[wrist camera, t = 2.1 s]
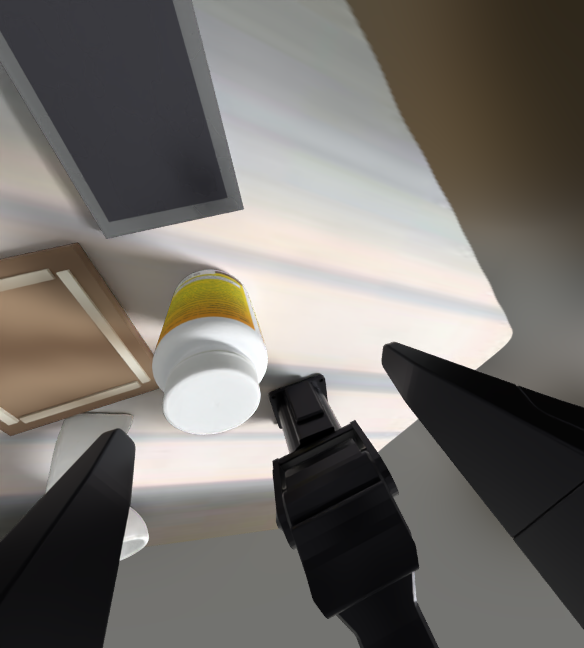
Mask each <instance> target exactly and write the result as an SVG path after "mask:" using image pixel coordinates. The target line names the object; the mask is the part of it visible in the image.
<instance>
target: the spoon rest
mask: <svg viewBox="0 0 584 648" xmlns="http://www.w3.org/2000/svg"><path fill="white" fill-rule="evenodd" d="M132 421H133V416H132V415H128V414H90V413H89V414H78V415H75V416H71V417H68V418H65V420H64V423H63V425H62V428H61V430H60V433H59V436H58V439H57V441H56V445H55V449H54V453H53V457H52V462H51V467H50V472H49V477H48V482H47V487H46V493H47V491H48V490H49V489H50V488H51V487H52V486H53V485H54V484H55V483H56V482H57V481H58V480H59V479H60V478H61V477H62V476H63V474H64V473H65V472H66V471H67V470H68V469H69V468H70V467H71V466H72V465H73V464H74V463H75V462H76V461H77V460H78V459H79V457H80V456H81V455H82V454H83V453H84V452H85V451H86V450H87V449H88V448H89V447H90V446H91V445H92V444H93V443H94V442H95V440H96V439H97V438H98V437H99V436H100V435H101V434H102V433H104V432H106V431H110V430H113V429H116V428H120V429H122V430H123V431H124V432H125V433H126V434H127V433H128V431H129V429H130V426H131V424H132ZM46 493H45V494H46ZM148 540H149V534H148V530H147V527H146V524H145V522H144V520H143V519H142V517H141V516H140V515H139V514H138V513H137V512H136V511H135V510H134V509H132V508H131V507H130V509H129V514H128V520H127V525H126V530H125V535H124V540H123V546H122V551H121V556H120V560H122V559H125V558H127V557H129V556H131V555H133V554H135V553H136V552H138V551H139V550H141V549H142V548H143V547H144V546H145V545H146V544H147V542H148Z"/></svg>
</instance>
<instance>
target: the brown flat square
mask: <svg viewBox="0 0 584 648" xmlns="http://www.w3.org/2000/svg"><path fill="white" fill-rule="evenodd" d="M153 357H154V355H153V353H152V352H151V350H150V349H149V347H148V346H147V344H146V343H145V341H144V340H143V338H142V337H141V335H140V334H139V332H138V331H137V329H136V328H135V326H134V325H133V323H132V322H131V320H130V319H129V317H128V316H127V315H126V313H125V312H124V310H123V309H122V307H121V306H120V304H119V303H118V301H117V300H116V298H115V297H114V295H113V294H112V292H111V291H110V289H109V288H108V286H107V285H106V283H105V282H104V280H103V279H102V277H101V276H100V274H99V273H98V271H97V270H96V268H95V267H94V265H93V264H92V262H91V261H90V259H89V258H88V256H87V255H86V253H85V252H84V251H83V249H82V248H81V246H80V245H79V243H74V244H69V245H64V246H59V247H55V248H50V249H45V250H41V251H36V252H31V253H27V254H22V255H17V256H13V257H8V258H3V259H0V430H2V431H3V432H5V433H7V434H8V435H10V436H12V435H15V434H18V433H22V432H25V431H28V430H31V429H34V428H37V427H40V426H43V425H46V424H50V423H53V422H56V421H59V420H62V419H65V418H68V417H71V416H75V415H78V414H81V413H84V412H87V411H90V410H93V409H96V408H100V407H103V406H106V405H109V404H112V403H115V402H118V401H121V400H124V399H128V398H131V397H134V396H137V395H140V394H143V393H146V392H149V391H153V390H156V389H159V386H158V385H157V383H156V381H155V379H154V376H153V370H152V362H153Z"/></svg>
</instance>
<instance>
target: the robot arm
mask: <svg viewBox="0 0 584 648" xmlns="http://www.w3.org/2000/svg"><path fill="white" fill-rule="evenodd" d="M382 366H383V368H384V369H385V371H386V372H387V374H388V376H389V377H390V379H391V380H392V382H393V383H394V385H395V387H396V388H397V390H398V391H399V393H400V395H401V396H402V398H403V399H404V401H405V402H406V403H407V405H408V406H409V407H410V409H411V410H412V411H413V412H414V414H415V415H416V416H417V418H418V419H419V420H420V421H421V423H422V424H423V425H424V426H425V428H426V429H427V430H428V431H429V433H430V434H431V435H432V437H433V438H434V439H435V440H436V442H437V443H438V444H439V445H440V447H441V448H442V449H443V451H444V452H445V453H446V454H447V456H448V457H449V458H450V460H451V461H452V462H453V463H454V465H455V466H456V467H457V468H458V470H459V471H460V472H461V474H462V475H463V476H464V477H465V479H466V480H467V481H468V482H469V483H470V485H471V486H472V487H473V489H474V490H475V491H476V493H477V494H478V495H479V496H480V498H481V499H482V500H483V502H484V503H485V504H486V505H487V507H488V508H489V509H490V511H491V512H492V513H493V514H494V516H495V517H496V518H497V519H498V521H499V522H500V523H501V525H502V526H503V527H504V528H505V530H506V531H507V532H508V533H509V535H510V536H511V537H512V538H513V540H514V541H515V543H516V544H517V545H518V546H519V548H520V549H521V550H522V551H523V553H524V554H525V555H526V557H527V558H528V559H529V560H530V562H531V563H532V564H533V566H534V567H535V568H536V569H537V570H538V572H539V573H540V574H541V576H542V577H543V578H544V579H545V581H546V582H547V583H548V584H549V586H550V587H551V588H552V590H553V591H554V592H555V594H556V595H557V596H558V597H559V599H560V600H561V601H562V602H563V604H564V605H565V606H566V608H567V609H568V610H569V611H570V613H571V614H572V615H573V616H574V618H575V619H576V620H577V621H578V623H579V624H580V625H581V627H582V628H583V629H584V407H581V406H578V405H575V404H571V403H568V402H565V401H561V400H559V399H556V398H553V397H550V396H547V395H544V394H541V393H538V392H535V391H533V390H530V389H527V388H524V387H521V386H516V385H515V384H513V383H510V382H507V381H504V380H501V379H499V378H496V377H493V376H490V375H487V374H484V373H482V372H479V371H476V370H473V369H470V368H468V367H465V366H462V365H459V364H456V363H454V362H451V361H448V360H445V359H442V358H439V357H437V356H434V355H431V354H428V353H425V352H423V351H420V350H417V349H414V348H411V347H408V346H406V345H403V344H400V343H397V342H391V343H388V344H385V345H384V346H383V352H382ZM269 399H270V402H271V405H272V408H273V411H274V414H275V417H276V420H277V423H278V426H279V428H280V429H283V432H284V436H285V439H286V443H287V446H288V450H289V453H290V454H288V455H286V456H284V457H282V458H280V459H278V458H277V459H275V460H273V481H274V491H275V501H276V523H277V526H278V528H279V529H281V530H282V531H283V532H284V534H285V536H286V539H287V541H288V543H289V545H290V547H291V548H292V549H297V550H298V553H299V556H300V559H301V562H302V565H303V567H304V571H305V574H306V577H307V580H308V584H309V587H310V591H311V595H312V598H313V601H314V602H315V604H316V605H317V606H318V608H319V609H320V610H321V612H322V613H323V615H324V616H325V617H326V618H327V619H329V618H331V617H333V616H335V615H337V616H338V618H339V619H340V620H341V621H342V622H343V623H344V624H345V625H346V626H347V627H348V628H349V629H350V630H351V631H352V632H353V633H354V634H355V636H356V637H357V640H358V643H359V645H360V648H439V647H438V645H437V643H436V641H435V639H434V637H433V635H432V633H431V631H430V628H429V626H428V624H427V622H426V620H425V618H424V616H423V614H422V612H421V610H420V607H419V606H418V603H417V600H416V587H415V574H414V571H416V570H418V569H419V564H418V557H417V550H416V546H415V543H414V541H413V539H412V536H411V532H410V530H409V528H408V526H407V524H406V522H405V520H404V518H403V516H402V514H401V512H400V510H399V508H398V506H397V504H396V502H395V500H394V497H396V496H397V495H399V492H398V489H397V487H396V484H395V482H394V480H393V478H392V476H391V474H390V472H389V471H388V469H387V467H386V465H385V463H384V462H383V460H382V459H381V457H380V455H379V454H378V452H377V451H376V449H375V448H374V447H373V445H372V444H371V442H370V441H369V439H368V438H367V436H366V435H365V434H364V432H363V431H362V429H361V428H360V426H359V425H358V424H357V422H356V421H355V420H354V421H352V422H350V424H348V425H346V426H344V427H342V428H341V426H340V424H339V423H338V421H337V419H336V417H335V415H334V413H333V411H332V409H331V407H330V405H329V404H328V400H327V391H326V382H325V378H324V376H323V375H318V376H315V377H312V378H310V379H307V380H304V381H301V382H298V383H295V384H292V385H289V386H287V387H284V388H281V389H278V390H275V391H272V392H270V393H269ZM134 460H135V444H134V442H133V441H132V440H131V438H130V437H129V436H128V435H127V434H126V433H125V432H124V431H123V430H122V429H120V428H116V429H113V430H110V431H106V432H104V433H102V434H101V435H100V436H99V437H98V438H97V439H96V440H95V442H94V443H93V444H92V445H91V446H90V447H89V448H88V449H87V450H86V451H85V452H84V453H83V454H82V455H81V456H80V457H79V459H78V460H77V461H76V462H75V463H74V464H73V465H72V466H71V467H70V468H69V469H68V470H67V471H66V472H65V473H64V474H63V476H62V477H61V478H60V479H59V480H58V481H57V482H56V483H55V484H54V485H53V486H52V487H51V488H50V489H49V490H48V491H47V493H46V494H45V495H44V496H43V497H42V498H41V499H40V500H39V501H38V502H37V503H36V504H35V505H34V506H33V507H32V508H31V510H30V511H29V512H28V513H27V514H26V515H25V516H24V517H23V518H22V519H21V520H20V521H19V522H18V523H17V524H16V525H15V526H14V528H13V529H12V530H11V531H10V532H9V533H8V534H7V535H6V536H5V537H4V538H3V539H2V540H1V541H0V648H103V644H104V638H105V634H106V628H107V623H108V617H109V613H110V607H111V602H112V597H113V592H114V587H115V581H116V577H117V571H118V566H119V561H120V556H121V551H122V546H123V540H124V535H125V530H126V525H127V520H128V514H129V509H130V503H131V495H132V483H133V472H134Z"/></svg>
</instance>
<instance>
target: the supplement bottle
mask: <svg viewBox="0 0 584 648" xmlns="http://www.w3.org/2000/svg"><path fill="white" fill-rule="evenodd" d="M267 362H268V356H267V350H266V346H265V343H264V340H263V337H262V334H261V331H260V327H259V324H258V321H257V319H256V315H255V312H254V310H253V307H252V304H251V301H250V298H249V295H248V293H247V291H246V289H245V287H244V286H243V284H242V283H241V282H240V281H239V280H238V279H236V278H235V277H234V276H232V275H230V274H228V273H226V272H223V271H219V270H202V271H198V272H195V273H193V274H191V275H189V276H187V277H186V278H185V279H183V280H182V281H181V282H180V284H179V285H178V287H177V288H176V290H175V292H174V295H173V298H172V301H171V304H170V307H169V310H168V313H167V316H166V319H165V322H164V325H163V328H162V331H161V334H160V337H159V340H158V343H157V346H156V349H155V352H154V357H153V362H152V370H153V376H154V379H155V381H156V383H157V385H158V386H159V388H160V389H161V390H162V391H163V392H164V393H165V394H164V398H163V412H164V415H165V417H166V419H167V420H168V421H169V423H170V424H171V425H173V426H174V427H175V428H177V429H179V430H181V431H184V432H187V433H192V434H201V435H207V434H216V433H221V432H225V431H227V430H230V429H233V428H235V427H237V426H239V425H240V424H242V423H244V422H245V421H246V420H248V419H249V418H250V417H251V416H252V415H253V413H254V412H255V411H256V409H257V407H258V405H259V402H260V388H259V383H260V381H261V380H262V378H263V376H264V374H265V372H266V368H267Z"/></svg>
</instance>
